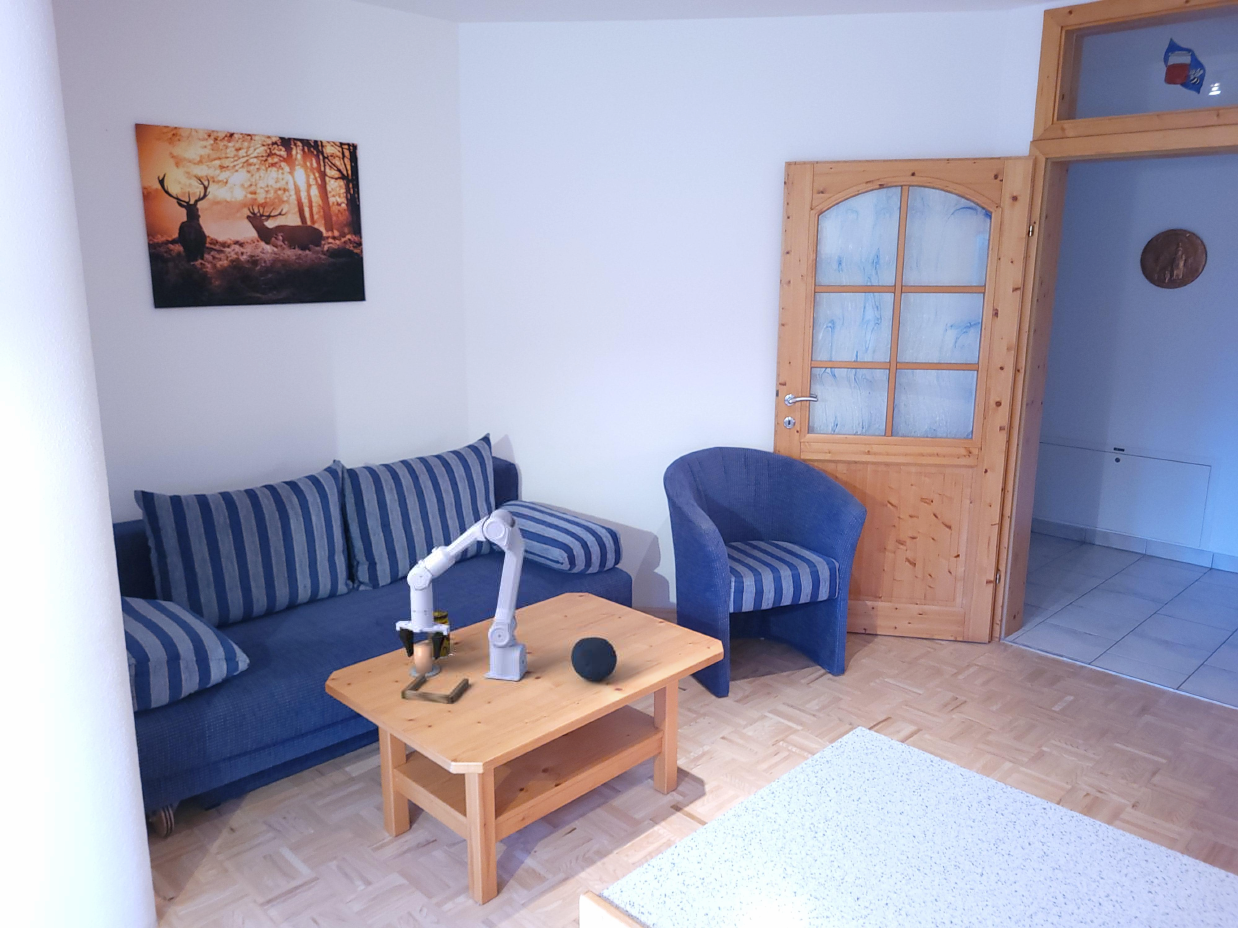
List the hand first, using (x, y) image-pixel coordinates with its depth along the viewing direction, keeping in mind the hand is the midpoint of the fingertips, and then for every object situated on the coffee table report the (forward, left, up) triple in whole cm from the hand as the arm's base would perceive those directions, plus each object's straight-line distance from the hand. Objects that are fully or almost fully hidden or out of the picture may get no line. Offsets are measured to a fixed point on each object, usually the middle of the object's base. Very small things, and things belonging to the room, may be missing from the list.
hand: (424, 656), depth 249 cm
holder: (-8, +10, -4) cm, 13 cm away
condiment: (+2, -12, -4) cm, 13 cm away
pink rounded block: (0, -1, -4) cm, 4 cm away
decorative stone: (-45, -7, -4) cm, 46 cm away
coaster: (0, 0, -4) cm, 4 cm away
